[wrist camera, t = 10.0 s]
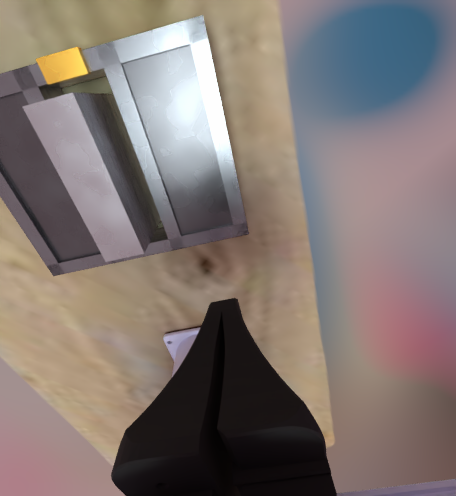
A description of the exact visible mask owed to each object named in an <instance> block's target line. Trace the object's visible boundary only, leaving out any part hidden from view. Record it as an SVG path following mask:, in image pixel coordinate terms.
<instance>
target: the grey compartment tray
mask: <svg viewBox="0 0 456 496" xmlns="http://www.w3.org/2000/svg"><path fill="white" fill-rule="evenodd" d="M36 61H37V63H36V64H33V65H29V66H26V67H22V68H19V69H16V70H12V71H9V72H5V73H2V74H0V197H1V198H2V200H3V201H4V203H5V204H6V206H7V207H8V209H9V210H10V212H11V213H12V215H13V216H14V218H15V219H16V221H17V222H18V224H19V225H20V227H21V228H22V230H23V231H24V233H25V234H26V236H27V237H28V239H29V240H30V242H31V243H32V245H33V246H34V248H35V249H36V251H37V252H38V254H39V255H40V257H41V258H42V260H43V261H44V263H45V264H46V266H47V267H48V269H49V270H50V272H51V273H52V275H53V276H56V275H61V274H65V273H70V272H75V271H79V270H84V269H89V268H93V267H98V266H103V265H107V264H112V263H117V262H121V261H126V260H131V259H135V258H140V257H144V256H149V255H154V254H158V253H163V252H168V251H172V250H177V249H182V248H186V247H191V246H196V245H200V244H205V243H209V242H214V241H219V240H223V239H228V238H233V237H237V236H242V235H247V234H249V232H248V227H247V222H246V217H245V213H244V208H243V203H242V198H241V194H240V189H239V184H238V179H237V174H236V170H235V165H234V160H233V155H232V151H231V146H230V141H229V136H228V132H227V127H226V122H225V117H224V113H223V108H222V103H221V98H220V94H219V89H218V84H217V79H216V75H215V70H214V65H213V60H212V56H211V51H210V46H209V41H208V37H207V32H206V27H205V22H204V18H203V15H202V16H198V17H195V18H192V19H188V20H185V21H181V22H178V23H174V24H171V25H167V26H164V27H160V28H157V29H154V30H150V31H147V32H143V33H140V34H136V35H133V36H129V37H126V38H123V39H119V40H116V41H112V42H109V43H105V44H102V45H98V46H95V47H91V48H88V49H85V50H81V48H79V47H75V48H71V49H68V50H65V51H61V52H58V53H54V54H51V55H47V56H44V57H41V58H37V59H36ZM103 76H107V78H108V81H109V84H110V86H111V89H112V92H113V94H114V97H115V99H116V102H117V105H118V107H119V110H120V113H121V115H122V118H123V121H124V123H125V126H126V128H127V131H128V134H129V136H130V139H131V142H132V144H133V147H134V150H135V152H136V155H137V158H138V160H139V163H140V165H141V168H142V171H143V173H144V176H145V179H146V181H147V184H148V187H149V189H150V192H151V195H152V197H153V200H154V202H155V205H156V208H157V210H158V213H159V216H160V218H161V221H162V224H163V226H164V228H160V229H156V231H155V233H154V235H153V237H152V239H151V241H150V243H149V245H148V247H147V249H146V251H145V253H144V254H141V255H136V256H131V257H127V258H122V259H118V260H113V261H109V262H105V260H104V258H103V256H102V254H101V252H100V250H99V249H98V247H97V245H96V243H95V241H94V239H93V237H92V235H91V234H90V232H89V230H88V228H87V226H86V224H85V222H84V221H83V219H82V217H81V215H80V213H79V211H78V209H77V208H76V206H75V204H74V202H73V200H72V198H71V196H70V195H69V193H68V191H67V189H66V187H65V185H64V183H63V182H62V180H61V178H60V176H59V174H58V172H57V170H56V169H55V167H54V165H53V163H52V161H51V159H50V157H49V156H48V154H47V152H46V150H45V148H44V146H43V144H42V143H41V141H40V139H39V137H38V135H37V133H36V131H35V129H34V128H33V126H32V124H31V122H30V120H29V118H28V116H27V115H26V113H25V111H24V109H23V106H26V105H30V104H33V103H37V102H40V101H44V100H47V99H51V98H55V97H58V96H62V95H64V94H63V92H62V90H61V88H64V87H67V86H71V85H75V84H78V83H82V82H85V81H89V80H93V79H96V78H100V77H103Z"/></svg>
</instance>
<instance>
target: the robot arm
mask: <svg viewBox="0 0 456 496" xmlns="http://www.w3.org/2000/svg"><path fill="white" fill-rule="evenodd" d="M163 340H164V342H165V344H166V346H167V348H168V350H169V352H170V354H171V356H172V358H173V360H174V367H173V373H172V378H171V380H170V381H169V382H168V384H167V385H166V386H165V388H164V389H163V390H162V391H161V393H160V394H159V395H158V396H157V397H156V399H155V400H154V401H153V402H152V403H151V405H150V406H149V407H148V408H147V409H146V410H145V411H144V412H143V413H142V414H141V415H140V416H139V417H138V418H137V419H136V420H135V421H134V422H133V424H132V425H131V426H130V427H129V428H127V429H126V430H125V433H124V436H123V438H122V441H121V443H120V446H119V449H118V453H117V456H116V460H115V463H114V467H113V470H112V474H111V477H112V481H113V482H114V484H115V485H116V486H117V487H118V488H119V489H120V490H121V491H122V492H123V493H124V494H125V495H126V496H456V479H451V480H443V481H435V482H427V483H419V484H411V485H402V486H394V487H387V488H378V489H370V490H362V491H354V492H345V493H336V490H335V487H334V483H333V480H332V476H331V470H330V467H329V463H328V460H327V456H326V445H325V439H324V436H323V434H322V432H321V430H320V428H319V426H318V424H317V422H316V421H315V419H314V417H313V416H312V414H311V412H310V411H309V409H308V408H307V406H306V405H305V403H304V402H303V401H302V400H301V399H300V398H299V397H298V396H297V395H296V394H295V393H294V392H293V391H292V389H291V388H290V387H289V386H288V385H287V384H286V383H285V382H284V381H283V380H282V378H281V377H280V376H279V375H278V374H277V372H276V371H275V370H274V369H273V367H272V366H271V365H270V364H269V362H268V361H267V360H266V358H265V357H264V355H263V354H262V352H261V351H260V349H259V348H258V346H257V345H256V343H255V342H254V340H253V338H252V336H251V335H250V333H249V331H248V329H247V327H246V325H245V323H244V321H243V318H242V314H241V310H240V306H239V303H238V299H236V298H233V299H228V300H222V301H217V302H212V303H211V304H210V305H209V308H208V311H207V313H206V316H205V319H204V321H203V323H202V326H201V327H199V328H194V329H189V330H183V331H178V332H173V333H168V334H165V335H164V338H163ZM170 341H171V342H170Z"/></svg>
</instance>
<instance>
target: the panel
mask: <svg viewBox="0 0 456 496" xmlns="http://www.w3.org/2000/svg"><path fill="white" fill-rule="evenodd" d="M23 109H24V111H25V113H26V115H27V116H28V118H29V120H30V122H31V124H32V126H33V128H34V129H35V131H36V133H37V135H38V137H39V139H40V141H41V143H42V144H43V146H44V148H45V150H46V152H47V154H48V156H49V157H50V159H51V161H52V163H53V165H54V167H55V169H56V170H57V172H58V174H59V176H60V178H61V180H62V182H63V183H64V185H65V187H66V189H67V191H68V193H69V195H70V196H71V198H72V200H73V202H74V204H75V206H76V208H77V209H78V211H79V213H80V215H81V217H82V219H83V221H84V222H85V224H86V226H87V228H88V230H89V232H90V234H91V235H92V237H93V239H94V241H95V243H96V245H97V247H98V249H99V250H100V252H101V254H102V256H103V258H104V260H105V262H109V261H113V260H118V259H122V258H127V257H131V256H136V255H141V254H144V253H145V251H146V249H147V247H148V245H149V243H150V241H151V239H152V237H153V235H154V233H155V231H156V229H157V227H158V225H159V223H160V221H161V218H160V216H159V213H158V210H157V208H156V205H155V202H154V200H153V197H152V195H151V192H150V189H149V187H148V184H147V181H146V179H145V176H144V173H143V171H142V168H141V165H140V163H139V160H138V158H137V155H136V152H135V150H134V147H133V144H132V142H131V139H130V136H129V134H128V131H127V128H126V126H125V123H124V121H123V118H122V115H121V113H120V110H119V107H118V105H117V102H116V99H115V97H114V95H111V94H92V93H73V92H72V93H69V94H65V95H62V96H58V97H55V98H51V99H47V100H44V101H40V102H37V103H33V104H30V105H26V106H23Z"/></svg>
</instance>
